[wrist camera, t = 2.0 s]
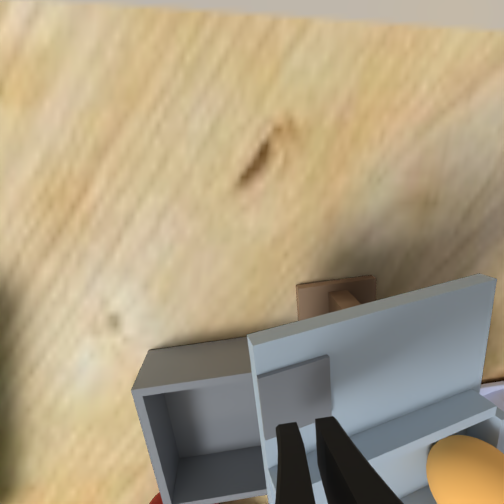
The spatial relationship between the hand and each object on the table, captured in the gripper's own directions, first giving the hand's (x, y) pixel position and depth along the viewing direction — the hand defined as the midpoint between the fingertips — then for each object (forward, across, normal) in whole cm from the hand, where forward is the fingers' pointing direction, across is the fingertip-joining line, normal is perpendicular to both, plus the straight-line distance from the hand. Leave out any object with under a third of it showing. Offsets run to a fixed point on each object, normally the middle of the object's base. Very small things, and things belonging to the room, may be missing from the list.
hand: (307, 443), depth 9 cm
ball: (+2, -8, +6) cm, 11 cm away
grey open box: (+9, +3, +6) cm, 12 cm away
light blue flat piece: (+3, -4, +4) cm, 7 cm away
